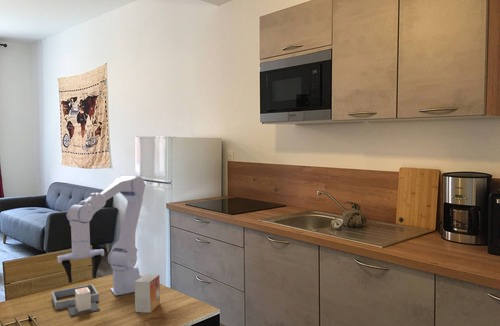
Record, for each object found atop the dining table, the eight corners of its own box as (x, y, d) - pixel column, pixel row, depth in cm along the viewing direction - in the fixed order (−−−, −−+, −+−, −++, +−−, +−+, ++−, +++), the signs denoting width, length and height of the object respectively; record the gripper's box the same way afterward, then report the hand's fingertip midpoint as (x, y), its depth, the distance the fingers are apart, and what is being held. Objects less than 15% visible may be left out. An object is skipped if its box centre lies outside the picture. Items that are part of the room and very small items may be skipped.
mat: (94, 302, 143) (94, 301, 143) (99, 310, 136) (99, 309, 136) (67, 308, 138) (67, 307, 138) (70, 316, 131) (70, 315, 131)
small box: (150, 313, 133) (149, 282, 133) (135, 312, 134) (134, 281, 134) (160, 303, 141) (159, 274, 141) (145, 302, 142) (145, 273, 142)
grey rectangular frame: (92, 290, 155) (92, 284, 155) (98, 300, 145) (98, 293, 144) (52, 298, 147) (51, 291, 147) (55, 309, 137) (55, 302, 137)
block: (87, 304, 141) (87, 286, 140) (91, 308, 136) (90, 291, 136) (75, 306, 138) (74, 289, 138) (78, 311, 134) (77, 293, 134)
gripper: (100, 234, 143) (101, 272, 144) (55, 240, 135) (57, 280, 136) (105, 238, 137) (106, 277, 138) (58, 245, 129) (60, 286, 130)
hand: (82, 279), depth 137 cm, fingers open, 7 cm apart
